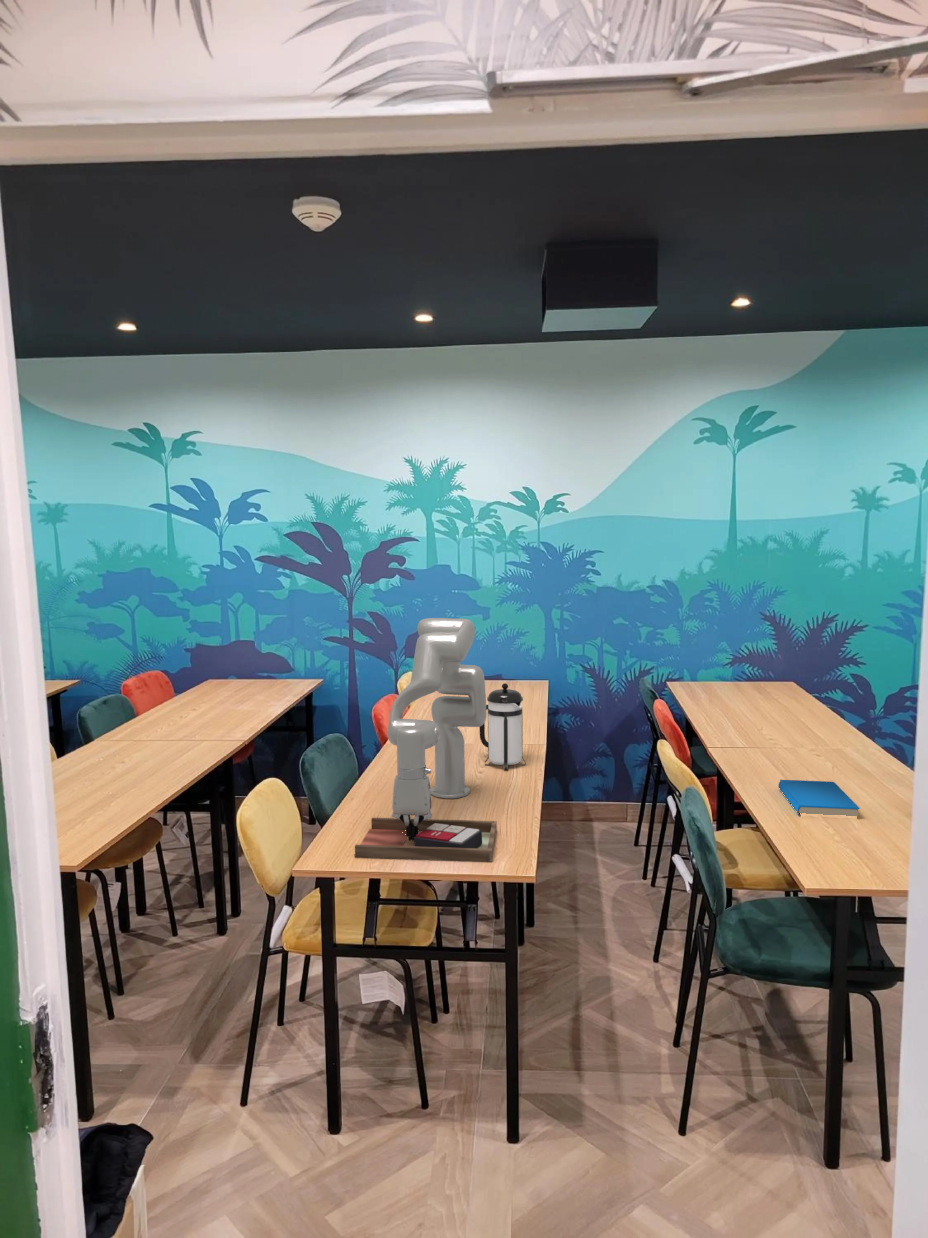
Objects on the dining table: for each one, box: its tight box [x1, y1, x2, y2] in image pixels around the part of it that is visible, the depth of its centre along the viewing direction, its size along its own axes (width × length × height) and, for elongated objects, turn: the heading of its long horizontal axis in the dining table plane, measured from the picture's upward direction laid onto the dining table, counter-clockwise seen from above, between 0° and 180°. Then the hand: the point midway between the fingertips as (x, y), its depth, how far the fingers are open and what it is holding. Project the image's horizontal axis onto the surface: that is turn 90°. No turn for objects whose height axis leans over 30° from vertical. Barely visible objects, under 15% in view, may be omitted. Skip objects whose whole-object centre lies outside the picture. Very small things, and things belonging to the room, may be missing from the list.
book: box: [778, 779, 860, 817], centre depth 242 cm, size 17×4×25 cm
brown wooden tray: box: [353, 817, 498, 863], centre depth 213 cm, size 21×36×3 cm, turn 84°
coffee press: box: [479, 683, 527, 772], centre depth 285 cm, size 17×16×30 cm
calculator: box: [413, 823, 482, 848], centre depth 211 cm, size 11×4×15 cm
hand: (412, 838), depth 213 cm, fingers closed
